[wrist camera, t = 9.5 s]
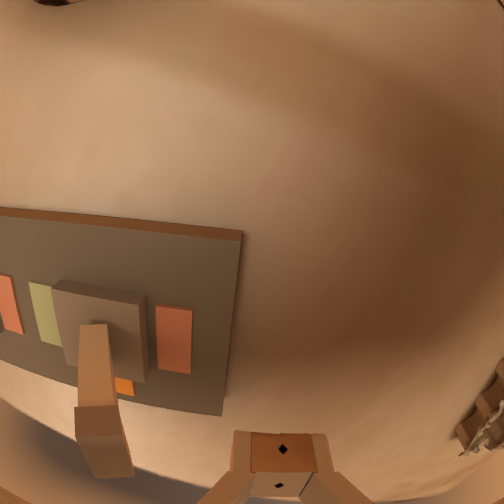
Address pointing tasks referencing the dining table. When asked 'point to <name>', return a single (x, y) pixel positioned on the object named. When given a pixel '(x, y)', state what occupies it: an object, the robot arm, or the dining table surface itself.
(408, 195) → the dining table surface
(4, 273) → the breaker panel
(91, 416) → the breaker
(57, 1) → the white-spotted black cylinder
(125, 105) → the dining table surface
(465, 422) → the egg carton
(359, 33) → the dining table surface
